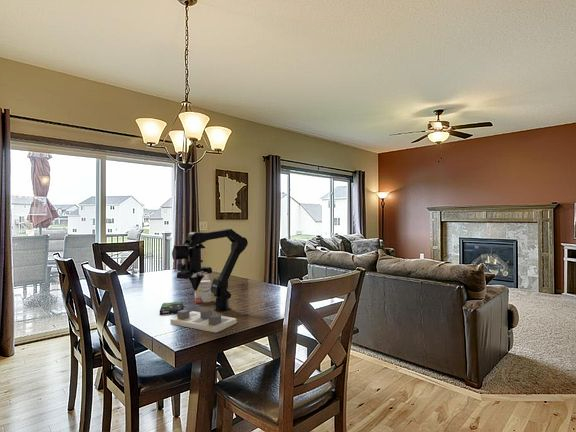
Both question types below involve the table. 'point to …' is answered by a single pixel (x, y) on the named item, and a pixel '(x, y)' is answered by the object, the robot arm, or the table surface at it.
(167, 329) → the table surface
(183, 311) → the tab
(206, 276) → the ink cartridge box
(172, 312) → the disk drive
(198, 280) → the robot arm
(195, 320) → the switch panel
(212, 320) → the tab
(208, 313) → the tab middle
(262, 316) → the table surface
